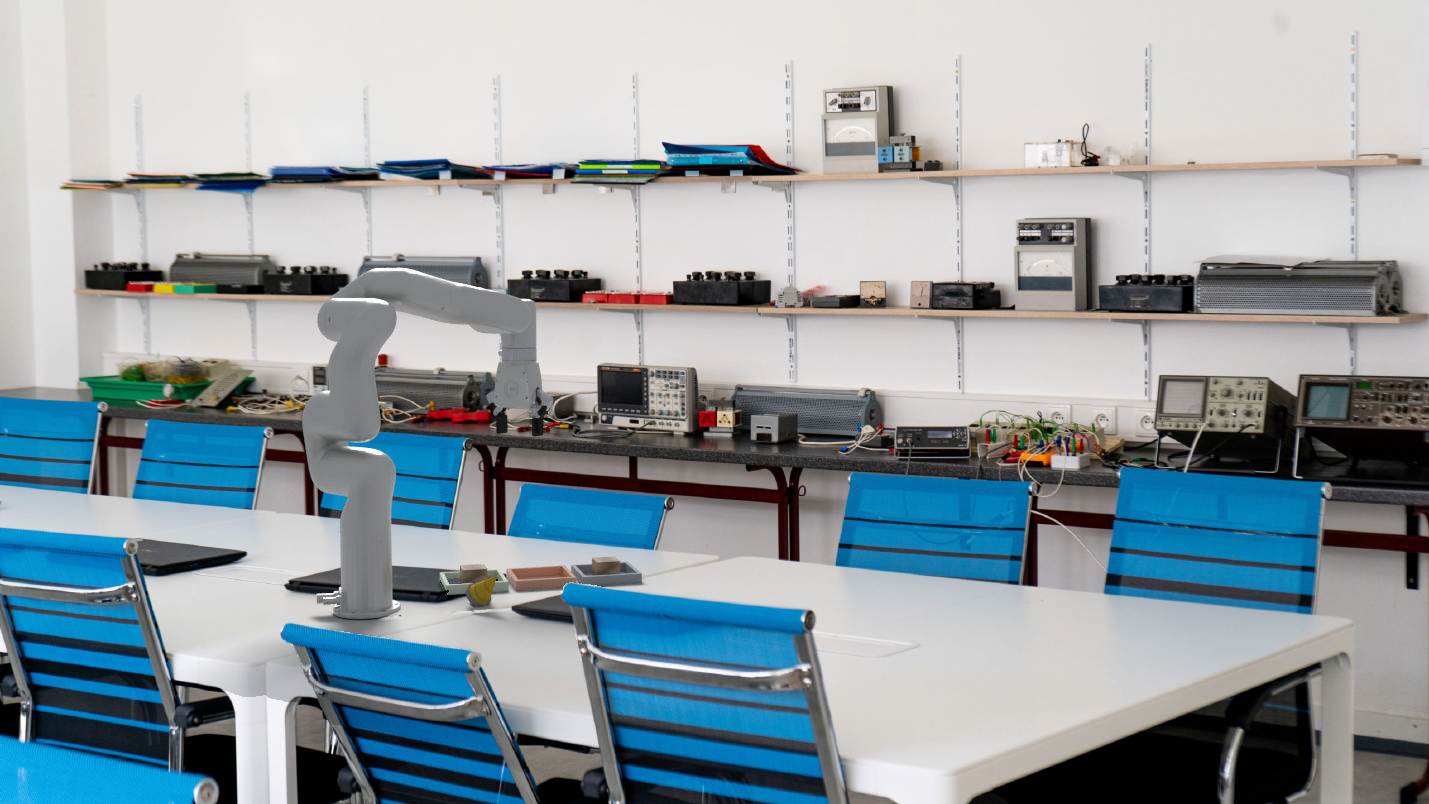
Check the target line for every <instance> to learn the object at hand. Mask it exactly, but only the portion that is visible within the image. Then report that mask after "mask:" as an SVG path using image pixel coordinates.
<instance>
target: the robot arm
mask: <svg viewBox="0 0 1429 804" xmlns="http://www.w3.org/2000/svg"><path fill="white" fill-rule="evenodd" d="M397 312H401V313H405V314H408V315H413V316H418V317H421V318H423V319H424V318H425V319H428V320H432V321H435V322H439V323H444V324H449V325H461V326H462V325H465V326H466V325H467V326H468V325H469V327H470V328H471V329H473V330H474V331H476V332H477V333H481V334H491V335H493V334H495V335H496V334H498V335H499V334H501V337H500V338H501V340H500V341H501V349H499V350H498V356H499V357H501V361H499V362H498V363H497V367H496V374H495V379H494V380H495V382H494V383H495V384H494V390H492V391H490V392H489V393H487V394H486V396H485V397H486V400H487V402H488V404H489V408H490V409H491V411H492V413H493V415H494V416H495V428H496V429H495V430H496V431H495V433H496V434H499V435H501V434H506V433H508V432H509V429H508V427H509V426H508V422H509V420H508V419H509V418H508V414H506V413H507V411H508V410H509V409H516V410H528V409H529V412H531V414H532V416H533V417H532V419H531V436H532V437H542V436H543V435H544V430H545V429H544V418H545V417H546V416H547V414H548V412H549V411H550V410H551V406H552V404H553V401H554V398H553V397H552V396H551V395H549V394H548V393H547V392H545V391H544V390H543V382H542V381H543V380H542V374H541V367H540V363H539V362H537V361H538V359H537V356H538V355H537V304H536V302H535V301H534V300H532V299H529V298H520V297H517V296H514V295H511V294H507V293H504V292H500V291H496V290H491V289H486V288H482V287H477V286H473V285H470V284H466V283H465V284H464V283H460V282H456V281H455V282H454V281H451V280H448V279H444V278H441V277H437V276H434V275H430V274H427V273H425V272H421V271H418V270H415V269H410V268H404V267H396V268H395V267H393V268H392V267H391V268H390V267H386V268H384V267H381V268H379V267H378V268H373V269H370V270H368V271H367V270H366V271H365V272H364V273H362V274H361V275H359V276H358V277H356V278H355V279H353V280H352V281H351V282H349V283H348V284H346V285H345V286H344V287H343V288H341V289H339V291H337V292H336V293H334V294H333V295H331V297H330V296H329V298H328V299H326V300H325V301H324V303H323V304H322V305H321V306H320V308H319V311H318V313H317V318H316V321H317V322H316V323H317V328H318V329H319V332H320V333H321V334H322V335H323V336H324V337H325V338H326V339H327V340H329V341H332V342H335V343H336V344H335V345H334V348H333V349H332V351H331V353H330V356H329V359H328V362H327V363H328V365H327V377H328V389H329V390H323V391H318V392H316V393H314V394H313V395H312V396H310V398H309V399H308V400H307V401H306V403H305V405H304V409H303V413H302V420H301V424H302V432H303V433H302V434H303V437H304V438H303V439H304V445H305V451H306V452H305V454H306V458H307V459H306V460H307V465H308V471H309V475H310V478H311V481H312V482H313V484H314V485H315V487H316V488H317V489H318V490H320V491H321V492H323V493H326V494H331V495H335V496H336V495H337V496H343V497H347V499H346V501H345V504H344V507H343V508H342V511H341V514H340V518H339V543H340V544H339V546H340V547H339V548H340V551H339V552H340V586H339V587H338V590H334V591H333V593H326V592H322V593H316V604H317V605H318V604H320V605H321V604H322V605H323V606H330V605H334V606H333V608H332V610H333V611H332V614H333V615H334V616H336V617H338V618H342V619H349V620H370V619H378V618H379V619H380V618H385V617H388V616H391V614H394V613H396V612H398V611H400V610H401V609H402V604H401V603H400V602H399V601H398V600H395V599H393V558H392V557H393V555H392V554H393V553H392V552H393V550H392V549H393V545H392V543H393V542H392V503H393V496H394V490H395V485H396V479H397V471H396V470H397V469H396V465H395V463H394V461H393V459H391V457H390V456H389V455H388V454H387V453H385V452H383V451H382V450H378V449H375V448H371V447H370V448H368V447H359V446H349V443H367V442H370V441H372V440H374V439H375V438H376V437H377V436H378V434H379V433H380V430H381V420H382V419H381V412H380V405H379V404H380V403H379V396H378V392H377V391H378V390H377V383H376V373H375V370H376V369H375V367H376V361H377V358H378V356H379V354H380V351H381V349H382V348H383V346H384V345H385V344H386V342H387V341H388V339H390V337H391V336H392V335H393V332H394V331H395V329H396V326H397V318H398V317H397Z"/></svg>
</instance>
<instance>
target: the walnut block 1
mask: <svg viewBox="0 0 1429 804" xmlns="http://www.w3.org/2000/svg"><path fill="white" fill-rule="evenodd" d="M487 570H488V568H487V566H486V564H485V563H479V564H478V563H477V564H476V563H475V564H461V565H459V571H460V582H461V583H462V584H464V583H479V582H481V581H484V580H486V579H487Z"/></svg>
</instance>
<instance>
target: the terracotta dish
mask: <svg viewBox="0 0 1429 804" xmlns="http://www.w3.org/2000/svg"><path fill="white" fill-rule="evenodd" d="M505 570H506V572H505V573H506V574H505V575H506V576H505V577H506V579H507V580H508V582H509V584H510V585H511V586H512V588H513V589H514V591H516V592H517V591H530V590H531V591H533V590H546V589H548V590H549V589H562V588H563V586H564V585H565V584H566V583H569V582H574V583H576V584H577V579H576V577H575V576H574V575H573V574H572V572H571V569H569V568H568V567H567V566H566V564H565V565H562V564H561V565H546V566H531V567H530V566H529V567H512V568H506V569H505Z"/></svg>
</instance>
